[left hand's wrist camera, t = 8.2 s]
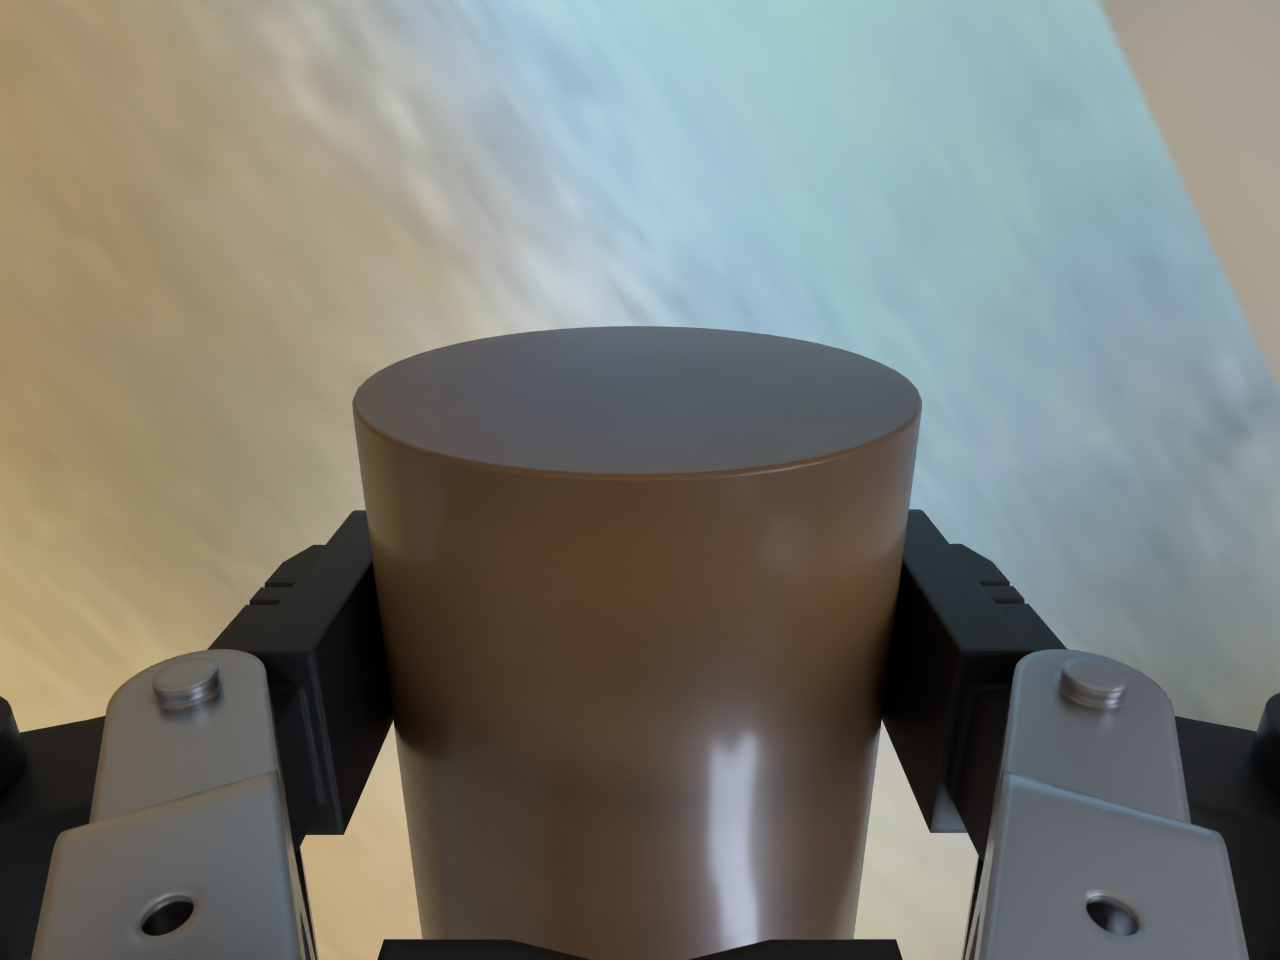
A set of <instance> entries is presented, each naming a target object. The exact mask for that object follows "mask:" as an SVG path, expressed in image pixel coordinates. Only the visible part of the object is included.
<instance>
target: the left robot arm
mask: <svg viewBox="0 0 1280 960" xmlns="http://www.w3.org/2000/svg"><path fill="white" fill-rule="evenodd" d="M393 720H394V719H393V712H392V704H391V697H390V689H389V681H388V674H387V666H386V659H385V651H384V644H383V636H382V628H381V621H380V613H379V606H378V598H377V590H376V583H375V575H374V568H373V560H372V552H371V545H370V537H369V530H368V522H367V515H366V510H355V511H353V512H352V513H351V514H350V515H349V516H348V518H347V519H346V520H345V521H344V523H343V524H342V525H341V526H340V528H339V529H338V530H337V531H336V533H335V534H334V535H333V536H332V538H331V539H330V540H329V541H328V543H327V544H326V545H313V546H311V547H309V548H307V549H306V550H304V551H302V552H300V553H299V554H297V555H295V556H293V557H292V558H290V559H288V560H286V561H285V562H283V563H282V564H281V565H280V566H279V568H278V569H277V570H276V571H275V572H274V573H273V574H272V576H271V577H270V578H269V579H268V580H267V581H266V582H265V587H261V588H260V589H259V591H258V592H257V593H256V594H255V595H254V596H253V597H252V599H251V600H250V605H245V607H244V608H243V609H242V610H241V611H240V612H239V614H238V615H237V616H236V617H235V618H234V619H233V620H232V622H231V623H230V624H229V625H228V626H227V627H226V628H225V630H224V631H223V632H222V633H221V634H220V635H219V637H218V638H217V639H216V640H215V641H214V642H213V643H212V645H211V646H210V647H209V648H208V649H207V650H204V651H198V652H192V653H188V654H184V655H180V656H176V657H173V658H170V659H167V660H165V661H162V662H160V663H157V664H155V665H153V666H151V667H149V668H147V669H145V670H143V671H141V672H139V673H138V674H136V675H135V676H133V677H132V678H130V679H129V680H128V681H126V682H125V683H124V684H123V685H121V686H120V687H119V689H118V690H117V691H116V692H115V693H114V694H113V696H112V697H111V699H110V700H109V703H108V706H107V710H106V716H103V717H98V718H94V719H89V720H85V721H79V722H74V723H69V724H63V725H58V726H53V727H48V728H42V729H37V730H32V731H27V732H21V733H19V730H18V727H17V724H16V721H15V718H14V715H13V712H12V709H11V706H10V705H9V703H8V701H7V700H5V699H4V698H2V697H0V960H319V958H318V952H317V945H316V939H315V932H314V926H313V919H312V913H311V907H310V900H309V894H308V887H307V881H306V875H305V870H304V865H303V859H302V854H301V849H300V845H301V843H302V841H303V839H304V837H305V835H344V833H345V830H346V828H347V826H348V823H349V821H350V819H351V817H352V814H353V812H354V810H355V807H356V805H357V803H358V800H359V798H360V796H361V793H362V791H363V789H364V787H365V784H366V782H367V780H368V777H369V775H370V773H371V770H372V768H373V766H374V763H375V761H376V759H377V757H378V754H379V752H380V750H381V747H382V745H383V743H384V740H385V738H386V736H387V733H388V731H389V729H390V726H391V724H392V722H393ZM882 720H883V723H884V725H885V727H886V730H887V732H888V734H889V737H890V739H891V742H892V744H893V746H894V749H895V751H896V753H897V756H898V758H899V760H900V763H901V765H902V767H903V770H904V772H905V774H906V777H907V779H908V781H909V784H910V786H911V789H912V791H913V793H914V796H915V798H916V800H917V803H918V805H919V807H920V810H921V812H922V814H923V817H924V819H925V821H926V824H927V826H928V829H929V831H930V833H968V834H969V836H970V838H971V841H972V843H973V845H974V847H975V849H976V851H977V853H978V859H977V865H976V870H975V875H974V881H973V887H972V894H971V900H970V907H969V913H968V919H967V926H966V932H965V939H964V945H963V952H962V958H961V960H1280V693H1278V694H1275V695H1274V696H1272V697H1271V698H1270V699H1269V700H1268V702H1267V703H1266V706H1265V709H1264V712H1263V715H1262V718H1261V721H1260V724H1259V727H1258V730H1257V732H1256V731H1250V730H1245V729H1240V728H1235V727H1229V726H1224V725H1219V724H1213V723H1208V722H1203V721H1198V720H1192V719H1187V718H1182V717H1178V716H1174V710H1173V706H1172V703H1171V700H1170V699H1169V697H1168V696H1167V694H1166V693H1165V692H1164V691H1163V690H1162V689H1161V687H1160V686H1159V685H1157V684H1156V683H1155V682H1154V681H1152V680H1151V679H1150V678H1148V677H1147V676H1145V675H1144V674H1142V673H1141V672H1139V671H1137V670H1135V669H1133V668H1131V667H1129V666H1127V665H1125V664H1123V663H1120V662H1118V661H1115V660H1113V659H1110V658H1107V657H1104V656H1100V655H1096V654H1092V653H1088V652H1082V651H1076V650H1068V649H1067V648H1066V647H1065V646H1064V645H1063V644H1062V643H1061V641H1060V640H1059V639H1058V638H1057V637H1056V636H1055V634H1054V633H1053V632H1052V631H1051V630H1050V629H1049V627H1048V626H1047V625H1046V624H1045V623H1044V622H1043V620H1042V619H1041V618H1040V617H1039V616H1038V615H1037V613H1036V612H1035V611H1034V610H1033V609H1032V608H1031V606H1030V605H1029V604H1025V603H1024V598H1023V597H1022V596H1021V595H1020V594H1019V592H1018V591H1017V590H1016V589H1015V588H1014V587H1013V586H1010V582H1009V581H1008V580H1007V578H1006V577H1005V576H1004V575H1003V574H1002V573H1001V571H1000V570H999V569H998V568H997V567H996V566H995V565H994V563H993V562H992V561H990V560H988V559H987V558H985V557H983V556H981V555H980V554H978V553H976V552H975V551H973V550H971V549H969V548H968V547H966V546H964V545H962V544H949V543H948V542H947V541H946V539H945V538H944V537H943V536H942V534H941V533H940V532H939V530H938V529H937V528H936V527H935V525H934V524H933V523H932V522H931V520H930V519H929V518H928V517H927V515H926V514H925V513H924V512H923V511H922V510H909V511H908V519H907V527H906V535H905V542H904V550H903V558H902V566H901V573H900V581H899V589H898V597H897V604H896V612H895V620H894V628H893V635H892V643H891V651H890V659H889V666H888V674H887V682H886V690H885V697H884V705H883V713H882ZM378 960H591V959H587V958H583V957H579V956H575V955H571V954H567V953H563V952H559V951H555V950H551V949H547V948H542V947H538V946H534V945H530V944H526V943H522V942H518V941H514V940H510V939H384V941H383V944H382V947H381V950H380V953H379V957H378ZM689 960H902V957H901V953H900V950H899V947H898V944H897V941H896V939H770V940H766V941H762V942H758V943H754V944H750V945H746V946H742V947H738V948H733V949H729V950H725V951H721V952H717V953H713V954H709V955H705V956H701V957H697V958H693V959H689Z"/></svg>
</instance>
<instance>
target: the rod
mask: <svg viewBox="0 0 1280 960" xmlns="http://www.w3.org/2000/svg"><path fill="white" fill-rule="evenodd" d="M352 403H353V416H354V423H355V431H356V439H357V446H358V454H359V461H360V469H361V477H362V484H363V492H364V499H365V507H366V515H367V522H368V530H369V537H370V545H371V552H372V560H373V568H374V575H375V583H376V590H377V598H378V606H379V613H380V621H381V628H382V636H383V644H384V651H385V659H386V666H387V674H388V681H389V689H390V697H391V704H392V712H393V719H394V727H395V735H396V742H397V750H398V757H399V765H400V772H401V780H402V788H403V795H404V803H405V810H406V818H407V826H408V833H409V841H410V848H411V856H412V864H413V871H414V879H415V886H416V894H417V901H418V909H419V917H420V924H421V932H422V939H510V940H514V941H518V942H522V943H526V944H530V945H534V946H538V947H542V948H547V949H551V950H555V951H559V952H563V953H567V954H571V955H575V956H579V957H583V958H587V959H591V960H689V959H693V958H697V957H701V956H705V955H709V954H713V953H717V952H721V951H725V950H729V949H733V948H738V947H742V946H746V945H750V944H754V943H758V942H762V941H766V940H770V939H853V938H854V930H855V922H856V914H857V907H858V899H859V891H860V883H861V876H862V868H863V860H864V852H865V845H866V837H867V829H868V821H869V814H870V806H871V798H872V790H873V783H874V775H875V767H876V759H877V752H878V744H879V736H880V728H881V721H882V713H883V705H884V697H885V690H886V682H887V674H888V666H889V659H890V651H891V643H892V635H893V628H894V620H895V612H896V604H897V597H898V589H899V581H900V573H901V566H902V558H903V550H904V542H905V535H906V527H907V519H908V511H909V504H910V496H911V488H912V481H913V473H914V465H915V457H916V450H917V442H918V434H919V426H920V419H921V410H922V400H921V397H920V395H919V392H918V390H917V388H916V387H915V386H914V385H913V384H912V383H911V382H910V381H909V380H908V379H907V378H906V377H904V376H903V375H901V374H900V373H898V372H897V371H895V370H893V369H891V368H889V367H887V366H885V365H883V364H881V363H879V362H877V361H874V360H872V359H869V358H866V357H864V356H861V355H858V354H855V353H852V352H848V351H845V350H842V349H838V348H834V347H830V346H826V345H822V344H818V343H813V342H808V341H803V340H798V339H792V338H786V337H780V336H773V335H766V334H758V333H750V332H741V331H730V330H720V329H705V328H688V327H654V326H622V327H589V328H571V329H557V330H546V331H535V332H526V333H518V334H510V335H503V336H496V337H490V338H484V339H478V340H473V341H468V342H463V343H458V344H454V345H450V346H446V347H442V348H437V349H434V350H431V351H427V352H424V353H421V354H417V355H414V356H412V357H409V358H407V359H404V360H401V361H399V362H396V363H394V364H392V365H390V366H388V367H386V368H384V369H382V370H380V371H378V372H377V373H375V374H374V375H372V376H371V377H369V378H368V379H367V380H366V381H365V382H364V383H363V384H362V385H361V386H360V387H359V388H358V390H357V392H356V394H355V396H354V399H353V402H352Z"/></svg>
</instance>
